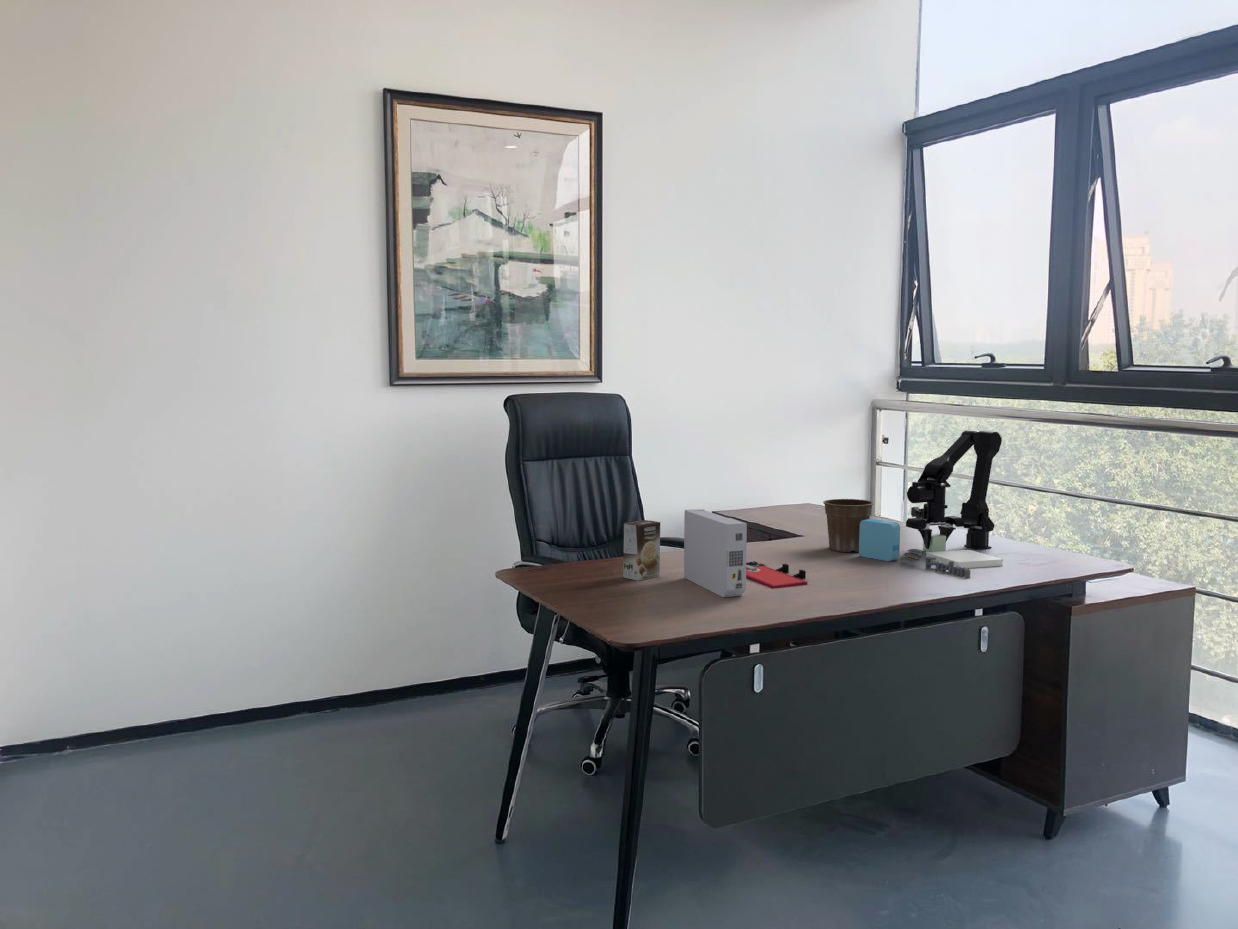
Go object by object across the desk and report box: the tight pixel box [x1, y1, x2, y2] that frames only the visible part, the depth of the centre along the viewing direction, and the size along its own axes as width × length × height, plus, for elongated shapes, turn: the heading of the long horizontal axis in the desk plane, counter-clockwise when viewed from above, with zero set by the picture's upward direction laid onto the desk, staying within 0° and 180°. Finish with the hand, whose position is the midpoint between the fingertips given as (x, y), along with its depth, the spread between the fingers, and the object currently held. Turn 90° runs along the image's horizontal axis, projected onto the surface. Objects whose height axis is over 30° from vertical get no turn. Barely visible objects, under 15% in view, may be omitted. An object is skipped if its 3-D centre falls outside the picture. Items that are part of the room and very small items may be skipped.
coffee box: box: [622, 519, 661, 582], centre depth 267 cm, size 9×6×16 cm
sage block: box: [922, 533, 947, 552], centre depth 303 cm, size 5×5×6 cm
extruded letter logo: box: [899, 548, 971, 579], centre depth 277 cm, size 25×2×6 cm, turn 31°
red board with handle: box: [746, 560, 808, 589], centre depth 270 cm, size 30×3×15 cm
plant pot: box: [822, 498, 874, 553], centre depth 309 cm, size 16×16×16 cm
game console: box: [683, 508, 748, 598], centre depth 254 cm, size 6×27×20 cm, turn 20°
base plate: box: [925, 549, 1004, 569], centre depth 289 cm, size 16×16×2 cm
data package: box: [858, 518, 901, 562], centre depth 294 cm, size 12×4×12 cm, turn 43°
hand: (934, 548), depth 303 cm, fingers closed on sage block, 5 cm apart
